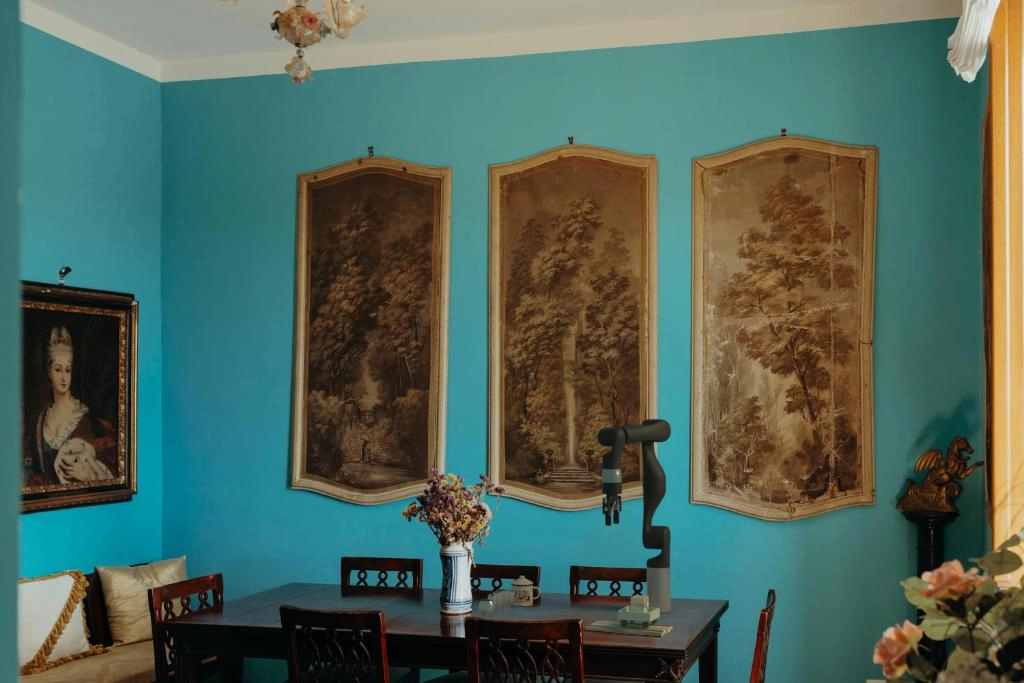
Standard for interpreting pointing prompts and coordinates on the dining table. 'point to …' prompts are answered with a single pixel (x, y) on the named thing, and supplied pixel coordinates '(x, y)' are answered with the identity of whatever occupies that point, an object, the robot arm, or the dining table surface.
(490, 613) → the goblet set
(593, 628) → the rail board
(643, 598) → the cream block
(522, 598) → the teacup with lid
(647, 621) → the dolly
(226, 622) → the dining table surface
